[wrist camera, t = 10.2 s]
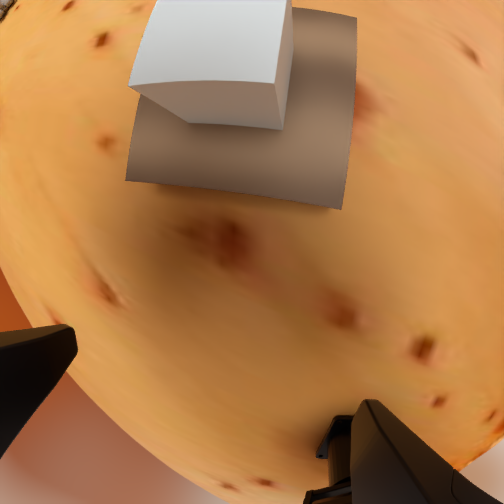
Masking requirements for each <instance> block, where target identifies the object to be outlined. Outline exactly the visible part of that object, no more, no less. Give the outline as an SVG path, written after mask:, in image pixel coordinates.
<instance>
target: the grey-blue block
mask: <svg viewBox="0 0 504 504" xmlns="http://www.w3.org/2000/svg"><path fill="white" fill-rule="evenodd" d="M292 57H293V24H292V4H291V0H157V2H156V4H155V7H154V9H153V11H152V14H151V16H150V19H149V21H148V24H147V27H146V29H145V32H144V35H143V38H142V41H141V43H140V46H139V49H138V53H137V56H136V59H135V62H134V66H133V69H132V72H131V76H130V80H129V83H128V86H129V87H130V88H132V89H134V90H136V91H137V92H139V93H141V94H142V95H144V96H146V97H147V98H149V99H151V100H152V101H154V102H156V103H157V104H159V105H161V106H162V107H164V108H166V109H167V110H169V111H170V112H172V113H174V114H175V115H177V116H178V117H180V118H182V119H183V120H185V121H186V122H188V123H205V124H224V125H238V126H249V127H259V128H268V129H276V130H283V124H284V117H285V110H286V102H287V95H288V88H289V80H290V72H291V65H292Z"/></svg>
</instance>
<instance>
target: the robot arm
mask: <svg viewBox="0 0 504 504" xmlns="http://www.w3.org/2000/svg"><path fill="white" fill-rule="evenodd" d="M77 352H78V346H77V341H76V335H75V331H74V329H73V328H72V327H70V326H68V325H66V324H59V325H52V326H45V327H38V328H30V329H23V330H15V331H7V332H0V459H1V457H2V456H3V454H4V453H5V452H6V450H7V448H8V447H9V446H10V445H11V443H12V442H13V440H14V439H15V438H16V436H17V435H18V434H19V432H20V431H21V429H22V428H23V427H24V425H25V424H26V423H27V421H28V420H29V419H30V418H31V416H32V415H33V413H34V412H35V411H36V409H38V407H39V406H40V404H41V403H42V402H43V401H44V400H45V398H46V397H47V396H48V395H49V394H50V392H51V391H52V390H53V389H54V387H55V386H56V385H57V383H58V382H59V380H60V379H61V377H62V376H63V374H64V373H65V371H66V370H67V368H68V367H69V365H70V364H71V362H72V361H73V359H74V358H75V357H76V355H77ZM316 458H319V459H328V473H329V487H326V488H322V489H318V490H310V491H307V492H306V496H305V499H304V501H303V504H503V503H501V502H500V501H498V500H497V499H495V498H493V497H492V496H490V495H488V494H487V493H486V492H484V491H483V490H481V489H480V488H478V487H477V486H475V485H474V484H473V483H472V482H470V481H469V480H468V479H466V478H465V477H464V476H463V475H462V474H460V473H459V472H458V471H457V470H456V469H453V467H452V466H451V465H450V464H449V463H448V462H446V461H445V460H444V459H443V458H442V457H441V456H440V455H438V454H437V453H436V452H435V451H434V450H433V449H432V448H430V447H429V446H428V445H427V444H426V443H425V442H424V441H423V440H421V439H420V438H419V437H418V436H417V435H416V434H415V433H414V432H412V431H411V430H410V429H409V428H408V427H407V426H406V425H405V424H404V423H403V422H401V421H400V420H399V419H398V418H397V417H396V416H395V415H394V414H393V413H392V412H390V411H389V410H388V409H387V408H386V407H385V406H384V405H383V404H382V403H381V402H380V401H378V400H375V399H365V400H363V401H362V403H361V404H360V406H359V408H358V410H357V412H356V414H355V416H354V417H349V416H338V417H335V418H334V419H333V421H332V423H331V425H330V427H329V429H328V431H327V433H326V435H325V437H324V439H323V441H322V443H321V445H320V446H319V448H318V450H317V452H316Z"/></svg>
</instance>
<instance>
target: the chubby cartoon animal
mask: <svg viewBox="0 0 504 504" xmlns="http://www.w3.org/2000/svg"><path fill="white" fill-rule="evenodd" d="M13 1H14V0H0V19H1V18H2V17H3V15H4V14H5V11H3V10H5V9H6V8H8V7H9V6H10V5H11V4H12V3H13Z"/></svg>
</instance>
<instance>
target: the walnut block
mask: <svg viewBox="0 0 504 504" xmlns="http://www.w3.org/2000/svg"><path fill="white" fill-rule="evenodd" d="M292 24H293V57H292V65H291V72H290V80H289V88H288V95H287V102H286V110H285V117H284V124H283V130H276V129H268V128H259V127H249V126H238V125H224V124H205V123H188V122H186V121H185V120H183V119H182V118H180V117H178V116H177V115H175V114H174V113H172V112H170V111H169V110H167V109H166V108H164V107H162V106H161V105H159V104H157V103H156V102H154V101H152V100H151V99H149V98H147V97H146V96H144V95H142V94H141V95H140V99H139V103H138V108H137V112H136V117H135V122H134V127H133V133H132V138H131V144H130V150H129V157H128V164H127V172H126V180H125V181H133V182H146V183H158V184H168V185H178V186H188V187H197V188H206V189H214V190H222V191H229V192H237V193H244V194H251V195H258V196H265V197H271V198H277V199H284V200H290V201H296V202H302V203H307V204H313V205H318V206H324V207H329V208H334V209H339V210H341V209H342V203H343V196H344V190H345V183H346V176H347V169H348V161H349V153H350V144H351V135H352V125H353V114H354V101H355V85H356V63H357V18H355V17H351V16H346V15H342V14H336V13H331V12H325V11H319V10H312V9H305V8H296V7H292Z"/></svg>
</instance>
